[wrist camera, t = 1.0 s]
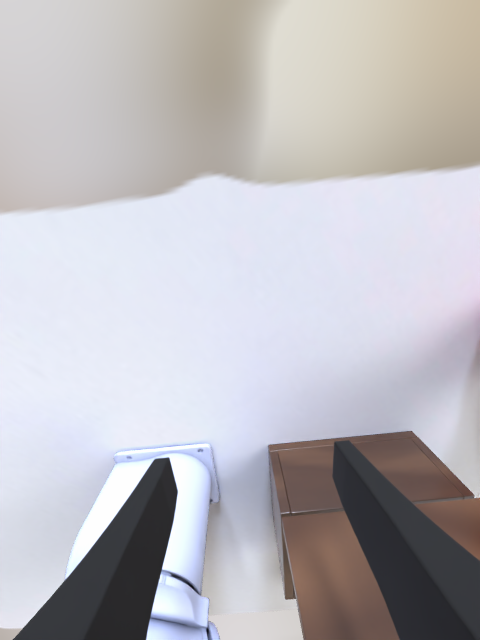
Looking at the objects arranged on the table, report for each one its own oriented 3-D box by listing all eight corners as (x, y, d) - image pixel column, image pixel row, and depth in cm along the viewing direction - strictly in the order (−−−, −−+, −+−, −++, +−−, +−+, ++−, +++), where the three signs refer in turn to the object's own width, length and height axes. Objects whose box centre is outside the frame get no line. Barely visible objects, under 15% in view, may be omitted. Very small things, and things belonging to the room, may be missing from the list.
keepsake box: (397, 508, 26) (445, 584, 20) (273, 520, 26) (285, 600, 20) (412, 430, 23) (475, 495, 17) (268, 444, 23) (280, 514, 17)
